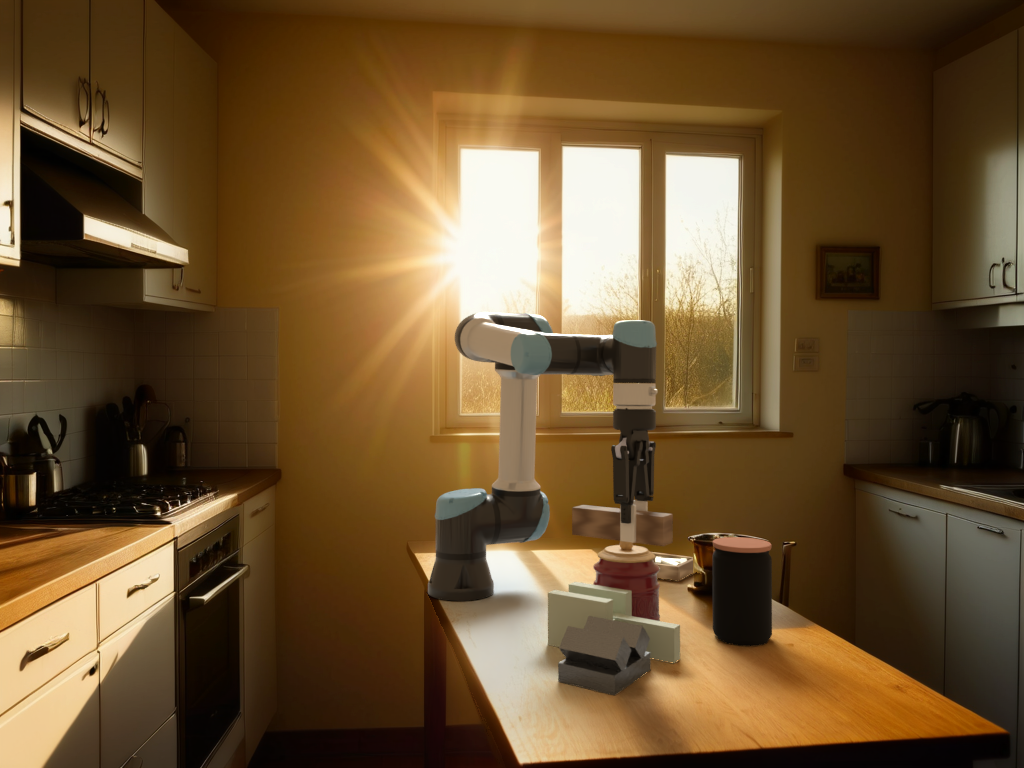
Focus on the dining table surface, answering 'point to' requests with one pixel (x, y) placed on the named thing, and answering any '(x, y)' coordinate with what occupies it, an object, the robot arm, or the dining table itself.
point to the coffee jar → (742, 591)
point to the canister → (631, 576)
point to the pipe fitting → (669, 561)
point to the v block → (604, 655)
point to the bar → (607, 524)
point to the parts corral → (674, 567)
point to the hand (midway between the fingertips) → (634, 539)
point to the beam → (607, 616)
